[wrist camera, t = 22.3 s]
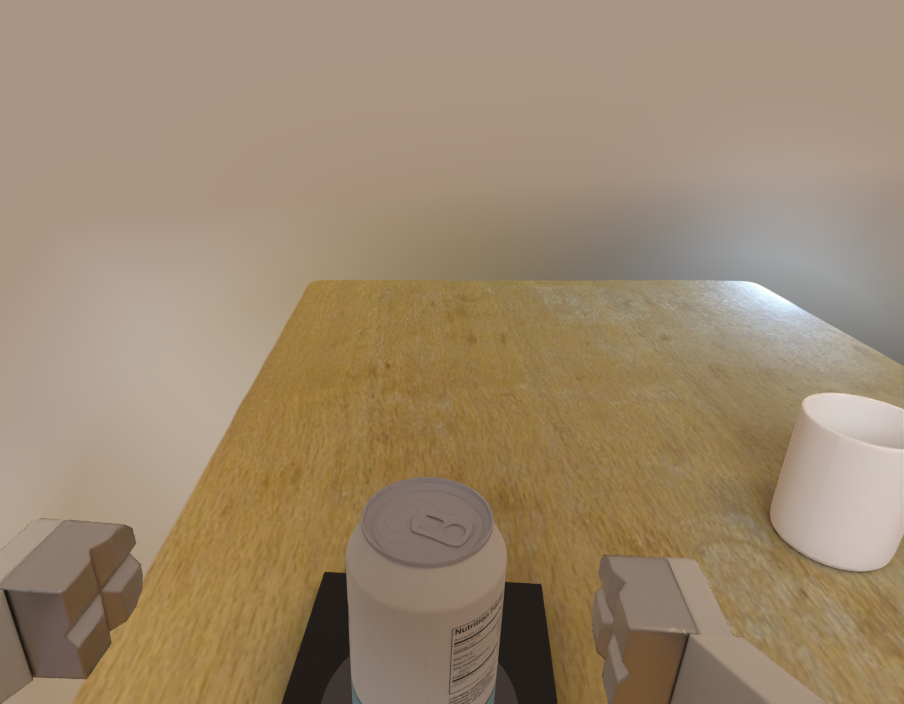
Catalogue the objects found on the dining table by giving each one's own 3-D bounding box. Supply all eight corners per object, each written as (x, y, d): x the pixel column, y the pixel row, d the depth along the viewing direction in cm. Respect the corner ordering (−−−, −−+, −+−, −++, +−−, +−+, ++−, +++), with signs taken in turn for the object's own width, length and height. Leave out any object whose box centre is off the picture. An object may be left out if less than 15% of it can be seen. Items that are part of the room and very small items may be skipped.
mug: (881, 500, 49) (923, 391, 45) (968, 572, 42) (1029, 449, 38) (746, 503, 48) (777, 392, 44) (810, 578, 41) (855, 452, 37)
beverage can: (393, 634, 33) (392, 455, 29) (509, 678, 31) (529, 490, 26) (325, 747, 27) (310, 544, 23) (463, 811, 25) (477, 600, 20)
